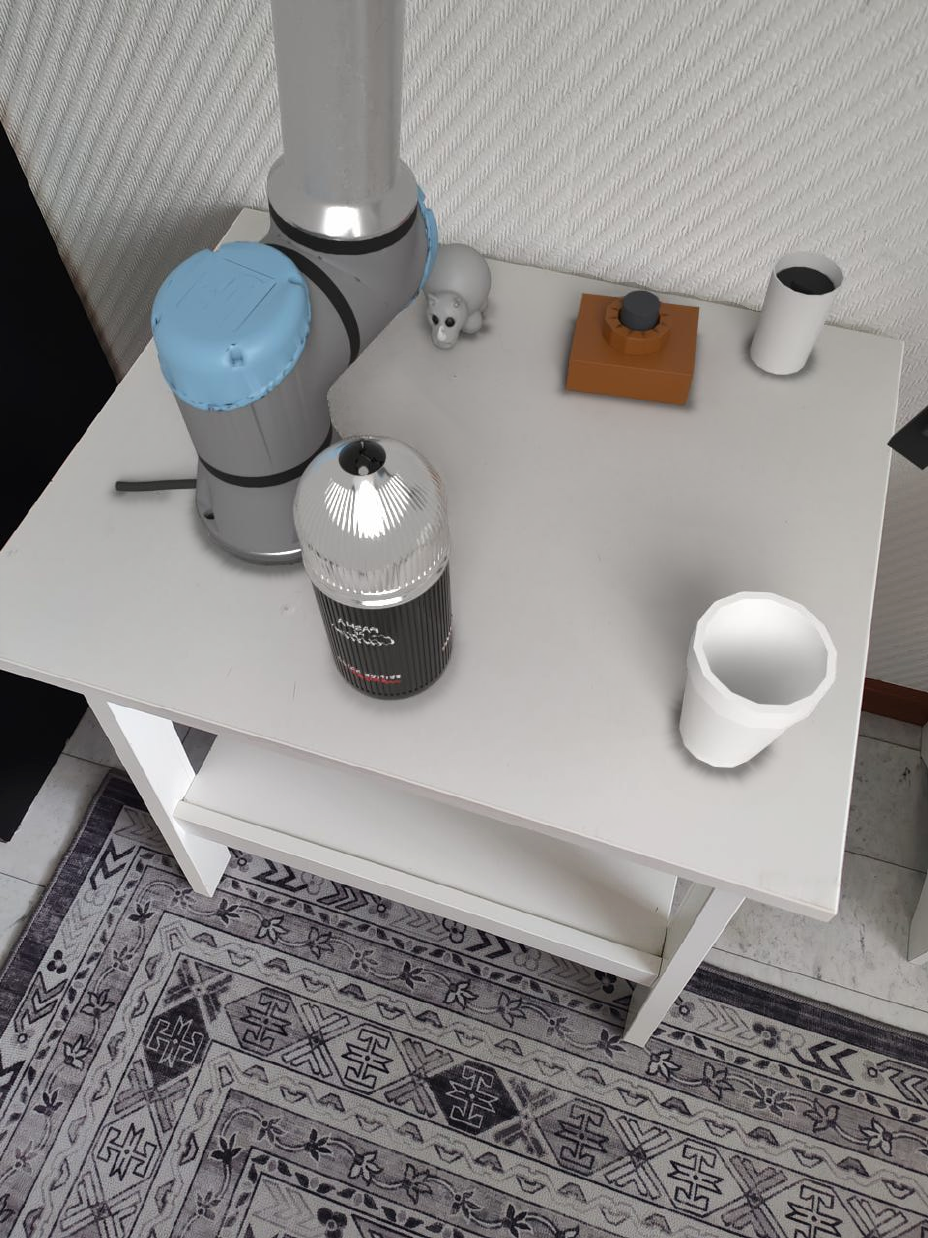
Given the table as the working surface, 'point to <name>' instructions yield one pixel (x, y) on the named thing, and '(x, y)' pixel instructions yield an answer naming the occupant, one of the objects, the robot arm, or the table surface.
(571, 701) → the table surface
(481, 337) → the table surface
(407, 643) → the spray bottle
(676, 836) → the table surface
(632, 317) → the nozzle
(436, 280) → the round bodied animal figurine
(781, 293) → the white cylindrical cup
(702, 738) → the foam cup
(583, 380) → the brown block
